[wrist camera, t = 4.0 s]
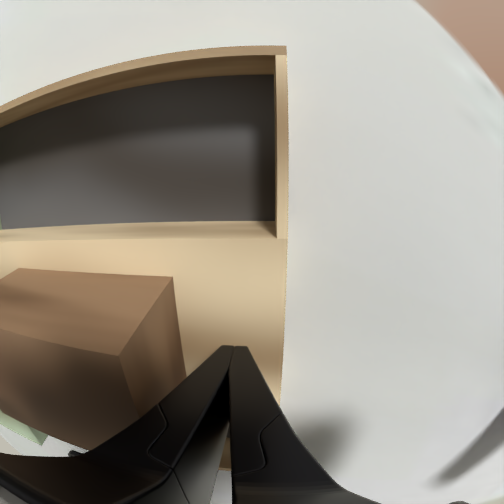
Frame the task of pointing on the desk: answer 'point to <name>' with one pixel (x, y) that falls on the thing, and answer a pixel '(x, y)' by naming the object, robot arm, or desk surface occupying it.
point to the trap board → (161, 191)
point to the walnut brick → (86, 351)
